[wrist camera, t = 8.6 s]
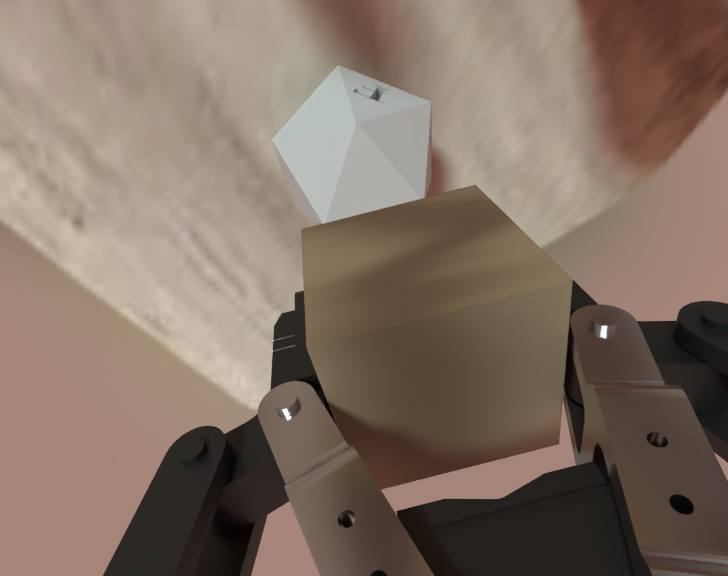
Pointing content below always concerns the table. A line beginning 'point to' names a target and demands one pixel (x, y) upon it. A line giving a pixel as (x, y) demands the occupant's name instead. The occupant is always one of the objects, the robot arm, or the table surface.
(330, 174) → the die
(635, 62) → the table surface
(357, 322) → the walnut cube
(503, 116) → the table surface
